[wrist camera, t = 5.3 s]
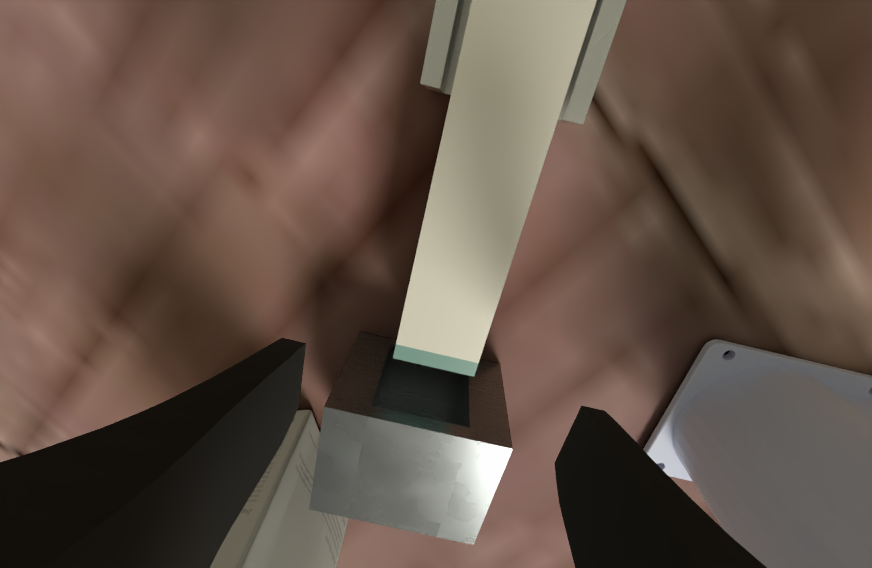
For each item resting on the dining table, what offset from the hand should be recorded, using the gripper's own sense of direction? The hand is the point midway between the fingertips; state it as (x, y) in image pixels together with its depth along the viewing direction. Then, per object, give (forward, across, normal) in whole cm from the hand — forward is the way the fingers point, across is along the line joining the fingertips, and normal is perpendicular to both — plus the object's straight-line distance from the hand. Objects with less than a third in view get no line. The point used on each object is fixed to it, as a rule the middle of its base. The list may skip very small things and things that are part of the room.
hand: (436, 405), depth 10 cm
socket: (+8, 0, +6) cm, 11 cm away
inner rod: (+8, 0, -6) cm, 11 cm away
